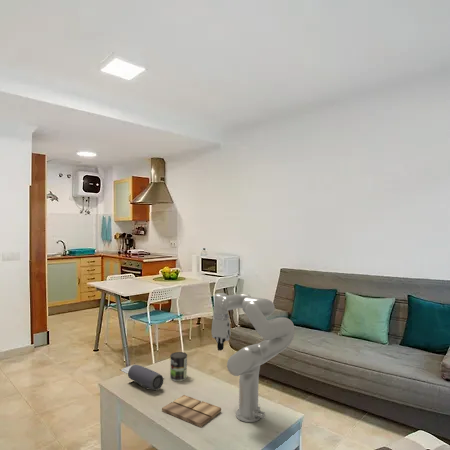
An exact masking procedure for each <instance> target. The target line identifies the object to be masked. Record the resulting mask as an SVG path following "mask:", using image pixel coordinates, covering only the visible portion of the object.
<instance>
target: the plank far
mask: <svg viewBox="0 0 450 450" xmlns="http://www.w3.org/2000/svg"><path fill="white" fill-rule="evenodd" d="M201 402H202V400H199V399H196V398H194V397H191V396H188V395H185V394H182V395H181V396H180V397H178V398H177V399H175V400H173V403H175V404H178V405H181V406H183V407H186V408H188V409H191V410H192V409H193V408H194V407H195V406H197V405H198V404H199V403H201Z"/></svg>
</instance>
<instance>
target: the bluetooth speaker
mask: <svg viewBox="0 0 450 450" xmlns="http://www.w3.org/2000/svg"><path fill="white" fill-rule="evenodd" d="M132 365H133V366H131V365H130V366H131V367H130V369H129V372H128V374H127V376H128V378H129V379H130V380H132V381H133V382H135V383H137V384H138V385H139V386H140V387H142V388H144V389H148V390H154V391H157V390H160V389H161V388H162V387H163V384H164V380H163V375H162V374H160V373H159V372H157V371H154V370H152V369H150V368H147V367H145V366H142V365H139V364H135V365H134V364H132Z"/></svg>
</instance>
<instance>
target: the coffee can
mask: <svg viewBox="0 0 450 450" xmlns="http://www.w3.org/2000/svg"><path fill="white" fill-rule="evenodd" d="M187 366H188V354H187V352H183V351H176V352H172V353H171V354H170V371H169V372H170V373H169V374H170V376H169V378H170V380H171V381H174V382H181V381H185V380H186V379H187V377H188V375H187V374H188V373H187V372H188V367H187Z"/></svg>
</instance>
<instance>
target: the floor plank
mask: <svg viewBox="0 0 450 450" xmlns="http://www.w3.org/2000/svg"><path fill="white" fill-rule="evenodd" d="M161 412H163V413H166V414H168V415H170V416H173V417H175V418H178V419H180V420H182V421H185V422H188V423H190V424H192V425H194V426H196V427H199V428H202V427H203V426H204V425H206V424H207V423H208V422H210V421H211V420H212V419H211V417H209V416H206V415H204V414H201V413H199V412H196V411H193V410H191V409H188V408H186V407H183V406H181V405H178V404H175V403H173V402H172V401H171V402H169V403H168V404H166V405H164V406H163V407H161Z"/></svg>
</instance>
